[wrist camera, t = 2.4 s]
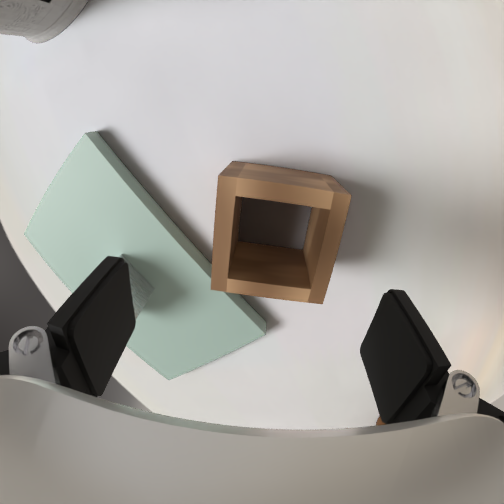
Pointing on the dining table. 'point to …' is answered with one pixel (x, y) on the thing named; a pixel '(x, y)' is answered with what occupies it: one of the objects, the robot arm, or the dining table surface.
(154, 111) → the dining table surface
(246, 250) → the walnut collar
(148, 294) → the white plaster cube
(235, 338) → the base board
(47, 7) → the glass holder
